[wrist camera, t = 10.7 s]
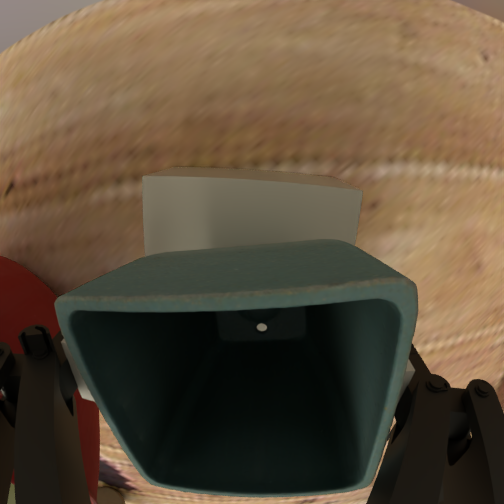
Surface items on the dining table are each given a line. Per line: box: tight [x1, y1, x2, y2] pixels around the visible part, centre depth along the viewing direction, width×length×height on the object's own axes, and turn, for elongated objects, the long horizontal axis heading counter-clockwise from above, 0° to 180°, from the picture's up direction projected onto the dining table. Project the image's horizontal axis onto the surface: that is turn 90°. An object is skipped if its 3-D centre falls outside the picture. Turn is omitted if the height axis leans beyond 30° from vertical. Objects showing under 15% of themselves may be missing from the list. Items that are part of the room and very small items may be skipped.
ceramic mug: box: [97, 487, 125, 504], centre depth 37 cm, size 11×8×8 cm
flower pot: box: [54, 239, 418, 498], centre depth 11 cm, size 9×9×9 cm
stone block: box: [142, 167, 363, 331], centre depth 19 cm, size 11×11×6 cm
